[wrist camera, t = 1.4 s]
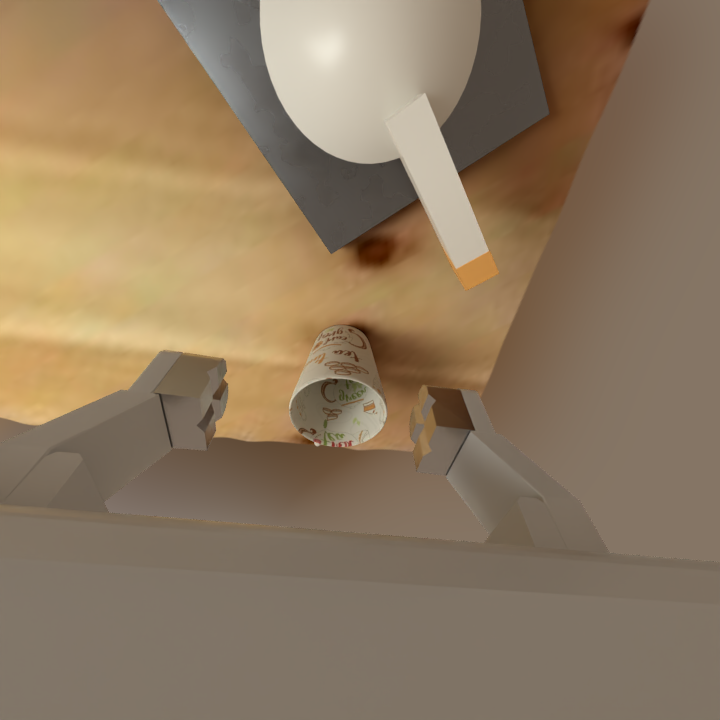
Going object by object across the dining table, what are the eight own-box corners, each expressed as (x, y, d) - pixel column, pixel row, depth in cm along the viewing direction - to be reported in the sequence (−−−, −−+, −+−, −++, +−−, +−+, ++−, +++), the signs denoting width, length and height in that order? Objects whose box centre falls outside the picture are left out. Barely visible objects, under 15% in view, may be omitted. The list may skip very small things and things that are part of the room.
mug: (392, 326, 35) (402, 391, 27) (356, 409, 42) (356, 480, 34) (313, 304, 34) (299, 366, 26) (289, 395, 41) (273, 465, 33)
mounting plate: (166, -1, 21) (112, -31, 16) (431, -300, 16) (463, -475, 11) (332, 246, 30) (328, 271, 26) (537, 113, 25) (579, 114, 20)
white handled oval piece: (231, 5, 17) (192, -27, 13) (409, -179, 14) (431, -296, 10) (400, 288, 26) (408, 320, 22) (530, 214, 23) (568, 237, 19)
